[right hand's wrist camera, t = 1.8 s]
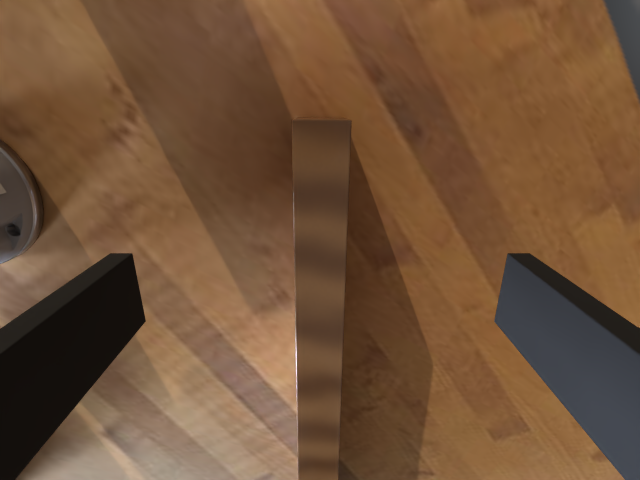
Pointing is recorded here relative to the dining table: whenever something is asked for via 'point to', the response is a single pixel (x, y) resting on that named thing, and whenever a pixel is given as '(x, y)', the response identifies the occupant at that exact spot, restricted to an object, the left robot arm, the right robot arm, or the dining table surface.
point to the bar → (319, 287)
